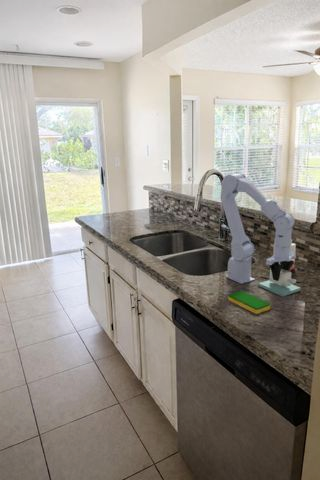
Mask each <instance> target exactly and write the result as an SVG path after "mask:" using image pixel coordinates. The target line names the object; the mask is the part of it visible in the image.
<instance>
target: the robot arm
mask: <svg viewBox="0 0 320 480" xmlns="http://www.w3.org/2000/svg"><path fill="white" fill-rule="evenodd" d="M220 186H221V190H220V191H221V192H220V200H221V205H222V208H223V210H224V215H225V217H226V221H227V226H228V227H229V231H230V232H229V233H230V234H231V238H232V239H231V242H230V247H231V251H230V253H231V257H229V259H228V262H227V275H226V276H225V277H226V278H228V279H229V280H232V281H234V282H237V283H238V284H246V283H249V282H252V281H255V280H256V279H255V278H253V277H252V276H251V275H252V260H253V259H252V255H253V254H254V253H255V246H254V244H253V242H251V239H250V237H249V236H247V235H246V232H245V228H244V225H243V222H242V218H241V215H240V211H239V209H238V205H237V202H236V197H237V195H238V193H239V192H240V193H246V195H248V196H249V197H251V199H253V201H255V202H256V203H257V204H258V205H259V206H260V211H261V212H262V213H263V214H264V215H265V217H267V218H268V219H269V220H270V221H271V222H273V227H274V228H275V234H274V235H275V237H274V242H275V246H274V245H273V251H274V255H273V254H272V256H271V257H268V258H266V260H265V264H266V265H268V266H269V269H271V272H272V276H273V280H276V281H278V280H279V276H280V271H281V269H284V270H287V271H289V270H290V268H291V267H292V265H293V264H294V265H295V263H294V261H292V260H291V259H296V257H297V254H296V253H295V254H294V253H290V246H291V239H292V231H293V227H294V225H295V223H296V222H295V221H296V220H295V217H294V216H293V215H292V213H290V212H287V211H286V210H284V209H283V208H281V206H279V204H278V201H276V200H273V199H268V198H267V197H265V195H264V194H263V193H262V192H261V191H260V190H259V189H258V188H257V187H256V186H255V184H254V183H253V182H252V181H251V179H250V178H249V177H246V175H245V173H242V172H237V173H233V174H227V175H225V176H224V177H223V179H222V181H220ZM279 262H280V264H279ZM290 271H291V270H290Z"/></svg>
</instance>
